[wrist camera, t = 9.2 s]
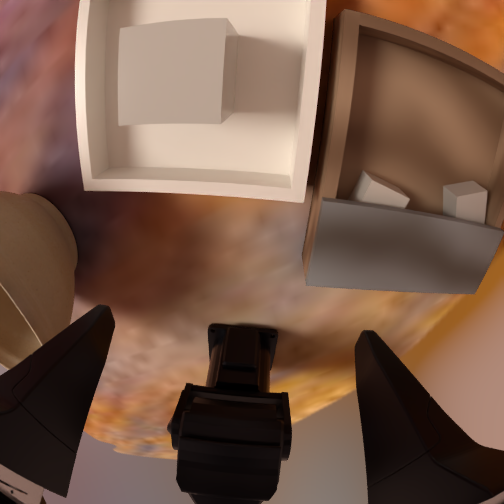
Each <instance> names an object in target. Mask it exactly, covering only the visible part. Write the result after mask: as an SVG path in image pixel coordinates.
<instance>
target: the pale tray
mask: <svg viewBox="0 0 504 504" xmlns="http://www.w3.org/2000/svg"><path fill="white" fill-rule="evenodd" d="M325 14H326V0H80V5H79V13H78V23H77V35H76V53H75V102H76V122H77V135H78V146H79V155H80V163H81V171H82V178H83V185H84V191H131V192H161V193H183V194H201V195H217V196H231V197H244V198H256V199H268V200H278V201H289V202H298V203H304V198H305V191H306V184H307V178H308V171H309V164H310V156H311V149H312V142H313V134H314V126H315V118H316V109H317V101H318V92H319V82H320V73H321V62H322V52H323V40H324V28H325ZM202 18H228V20H229V21H230V23H231V24H232V26H233V27H234V28H235V30H236V31H237V33H238V34H239V41H238V55H237V69H236V85H235V101H234V113H233V114H232V115H231V116H229V117H228V118H227V119H226V120H225V121H224V122H223V123H221V124H142V125H124V126H119V123H118V52H119V34H120V28H125V27H131V26H136V25H142V24H149V23H156V22H165V21H174V20H186V19H202Z"/></svg>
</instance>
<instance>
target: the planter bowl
mask: <svg viewBox="0 0 504 504" xmlns="http://www.w3.org/2000/svg"><path fill="white" fill-rule="evenodd" d="M77 259H78V254H77V246H76V242H75V238H74V236H73V233H72V231H71V229H70V227H69V225H68V223H67V221H66V220H65V218H64V217H63V215H62V214H61V213H60V212H59V211H58V209H57V208H56V207H55V206H54V205H53V204H52V203H50V202H49V201H48V200H46V199H45V198H43V197H41V196H39V195H36V194H32V193H24V194H21V195H18V194H15V193H10V192H4V191H0V364H1V365H2V366H3V367H5V368H6V369H8V370H10V369H11V368H13V367H14V366H16V365H17V364H18V363H20V362H21V361H22V360H24V359H25V358H26V357H28V356H29V355H30V354H32V353H33V352H34V351H36V350H37V349H38V348H40V347H41V346H42V345H44V344H45V343H46V342H48V341H49V340H50V339H52V338H53V337H54V336H56V335H57V334H58V333H60V332H61V331H62V330H64V329H65V328H67V327H68V326H69V325H70V321H71V316H72V310H73V304H74V291H75V278H74V271H75V268H76V265H77Z"/></svg>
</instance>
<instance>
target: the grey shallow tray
mask: <svg viewBox="0 0 504 504" xmlns="http://www.w3.org/2000/svg"><path fill="white" fill-rule="evenodd" d="M362 170H364V171H366V172H368V173H370V174H373V175H375V176H377V177H379V178H381V179H383V180H385V181H387V182H389V183H391V184H393V185H395V186H397V187H398V188H400V189H401V190H402V191H403V192H404V193H405V195H406V196H407V197H408V198H409V199H410V200H409V202H408V204H407V205H406V207H405V209H403V208H397V207H390V206H384V205H377V204H371V203H364V202H357V201H349V200H348V199H349V197H350V195H351V193H352V191H353V189H354V187H355V185H356V183H357V181H358V179H359V177H360V174H361V172H362ZM468 181H474V182H476V183H477V184H479V185H480V186H481V187H483V188H484V189H486V190H487V203H486V214H485V222H484V224H480V223H476V222H471V221H466V220H462V219H457V218H452V217H447V216H443V186H445V185H450V184H456V183H462V182H468ZM503 220H504V74H503V73H502V72H500V71H499V70H497V69H495V68H494V67H492V66H490V65H489V64H487V63H485V62H483V61H482V60H480V59H478V58H476V57H474V56H473V55H471V54H469V53H467V52H465V51H463V50H461V49H459V48H457V47H455V46H453V45H451V44H448V43H446V42H444V41H442V40H440V39H437V38H435V37H433V36H430V35H428V34H425V33H423V32H420V31H418V30H415V29H412V28H410V27H407V26H404V25H401V24H398V23H395V22H392V21H389V20H386V19H383V18H379V17H376V16H372V15H369V14H365V13H361V12H357V11H353V10H349V9H344V10H343V11H342V12H341V13H340V14H339V15H338V16H337V17H335V18H334V21H333V34H332V46H331V57H330V67H329V77H328V86H327V95H326V103H325V112H324V120H323V127H322V135H321V142H320V149H319V156H318V163H317V170H316V176H315V183H314V189H313V195H312V201H311V207H310V213H309V219H308V225H307V230H306V236H305V241H304V247H303V252H302V260H303V266H304V273H305V281H306V286H316V287H331V288H346V289H362V290H380V291H399V292H421V293H448V294H475V292H476V291H477V289H478V287H479V285H480V283H481V281H482V280H483V278H484V276H485V274H486V272H487V270H488V268H489V266H490V263H491V261H492V259H493V257H494V255H495V253H496V251H497V248H498V246H499V244H500V241H501V239H502V237H503V234H504V231H503V230H502V229H501V225H502V222H503Z"/></svg>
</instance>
